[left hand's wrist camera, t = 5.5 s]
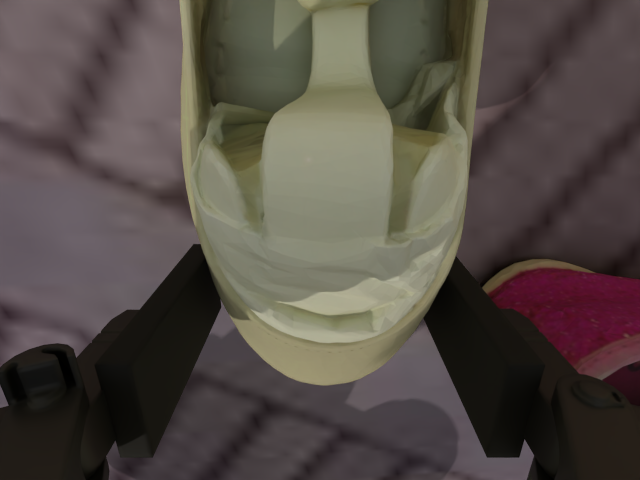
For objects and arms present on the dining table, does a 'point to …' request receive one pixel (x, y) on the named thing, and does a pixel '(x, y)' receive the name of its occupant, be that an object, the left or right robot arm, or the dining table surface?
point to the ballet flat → (329, 168)
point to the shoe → (579, 316)
